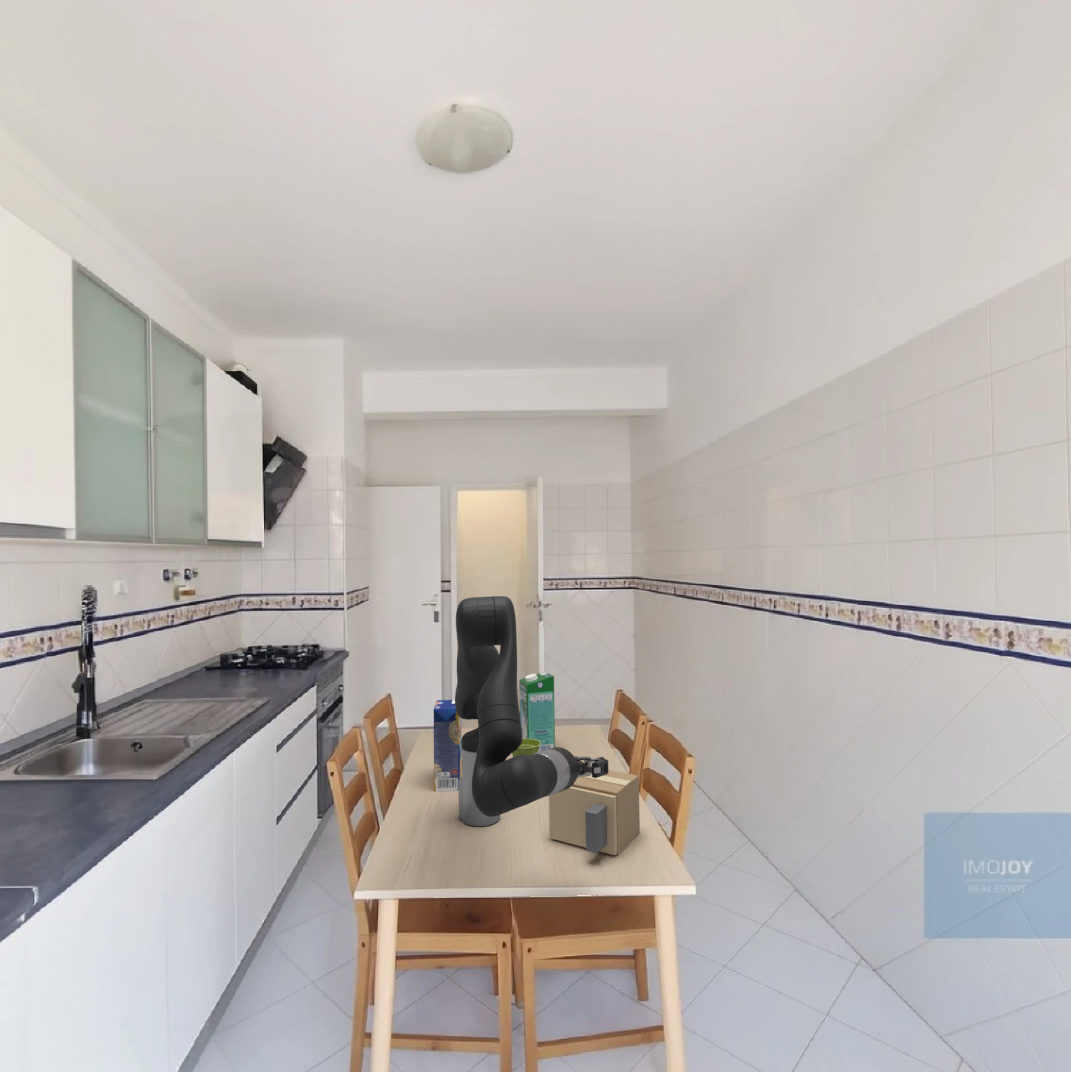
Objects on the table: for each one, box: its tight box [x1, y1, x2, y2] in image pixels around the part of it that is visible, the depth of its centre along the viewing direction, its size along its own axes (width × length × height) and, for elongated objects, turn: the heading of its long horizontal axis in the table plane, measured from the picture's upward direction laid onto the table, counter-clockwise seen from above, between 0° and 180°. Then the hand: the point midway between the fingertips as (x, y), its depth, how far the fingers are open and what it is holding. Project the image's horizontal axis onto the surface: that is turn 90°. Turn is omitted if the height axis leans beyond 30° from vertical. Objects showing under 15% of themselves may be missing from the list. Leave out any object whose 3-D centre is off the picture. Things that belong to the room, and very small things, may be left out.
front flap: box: [548, 786, 617, 856], centre depth 133 cm, size 16×6×12 cm, turn 58°
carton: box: [572, 769, 641, 856], centre depth 141 cm, size 16×12×13 cm
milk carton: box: [518, 670, 556, 752], centre depth 201 cm, size 9×9×25 cm
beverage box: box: [433, 699, 462, 792], centre depth 174 cm, size 7×11×22 cm, turn 4°
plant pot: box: [511, 739, 541, 758], centre depth 182 cm, size 9×9×9 cm
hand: (582, 761), depth 124 cm, fingers open, 8 cm apart
